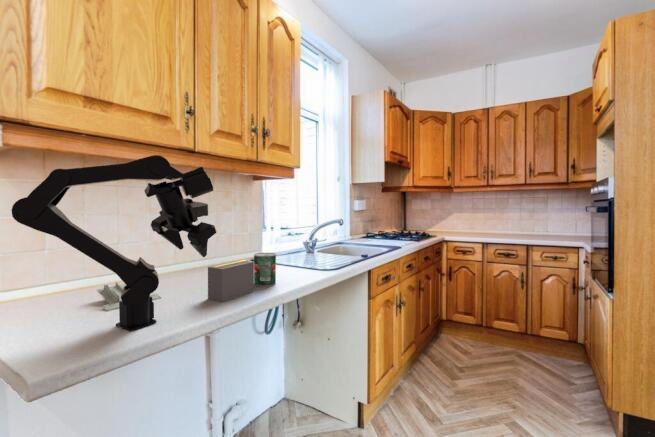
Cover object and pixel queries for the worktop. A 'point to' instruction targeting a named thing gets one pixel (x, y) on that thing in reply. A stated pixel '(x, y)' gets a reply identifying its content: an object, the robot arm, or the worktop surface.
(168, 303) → the worktop surface
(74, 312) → the worktop surface
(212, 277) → the grey rectangular box
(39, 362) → the worktop surface
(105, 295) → the metal bracket
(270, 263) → the canned tomato
